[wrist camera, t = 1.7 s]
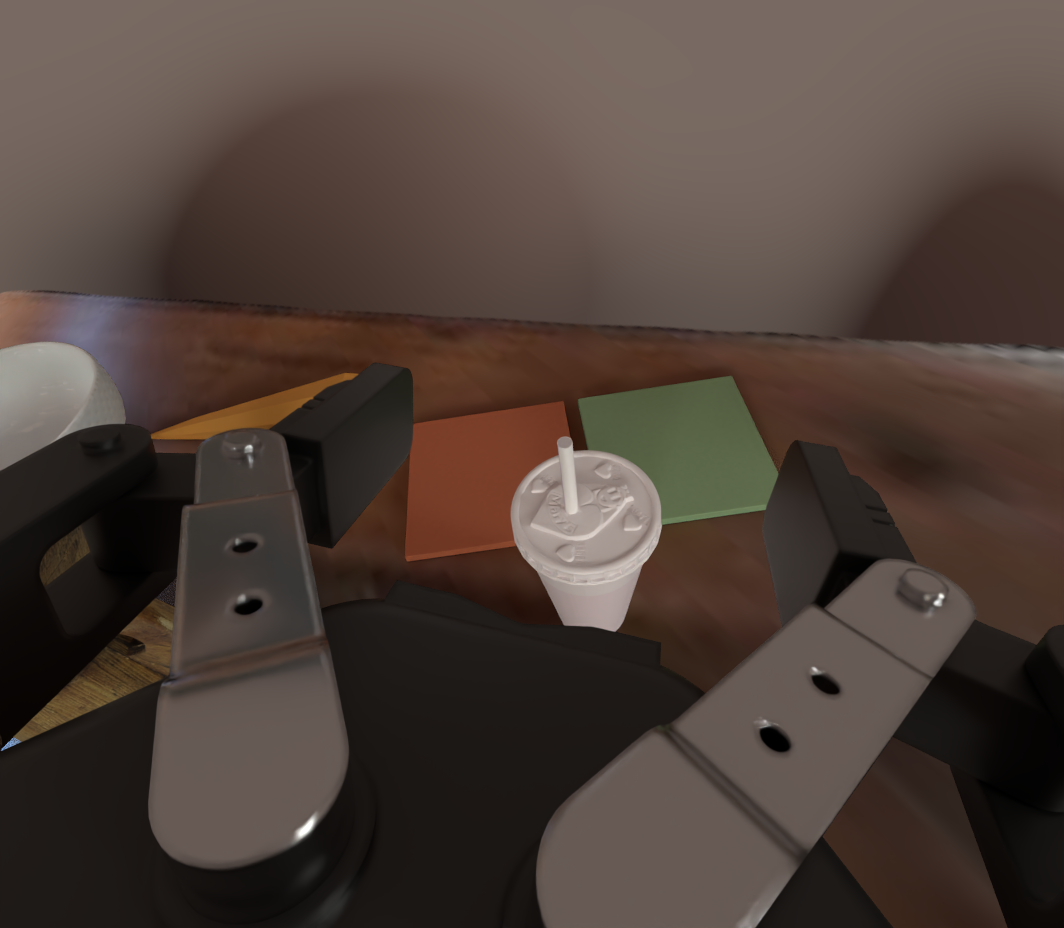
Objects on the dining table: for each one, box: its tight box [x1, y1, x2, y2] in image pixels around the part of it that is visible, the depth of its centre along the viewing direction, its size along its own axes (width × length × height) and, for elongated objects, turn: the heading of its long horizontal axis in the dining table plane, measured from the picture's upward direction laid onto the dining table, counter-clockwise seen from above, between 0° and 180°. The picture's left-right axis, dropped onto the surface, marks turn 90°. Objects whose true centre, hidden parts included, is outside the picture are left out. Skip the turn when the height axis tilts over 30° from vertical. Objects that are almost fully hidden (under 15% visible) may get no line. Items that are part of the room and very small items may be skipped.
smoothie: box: [511, 437, 662, 632], centre depth 26 cm, size 6×6×14 cm
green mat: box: [578, 376, 779, 525], centre depth 37 cm, size 11×11×1 cm
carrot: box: [150, 373, 358, 439], centre depth 42 cm, size 20×4×4 cm, turn 90°
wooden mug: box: [14, 526, 175, 742], centre depth 24 cm, size 9×14×18 cm, turn 86°
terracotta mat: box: [405, 401, 570, 562], centre depth 38 cm, size 11×11×1 cm
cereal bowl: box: [0, 342, 126, 471], centre depth 39 cm, size 17×17×7 cm
